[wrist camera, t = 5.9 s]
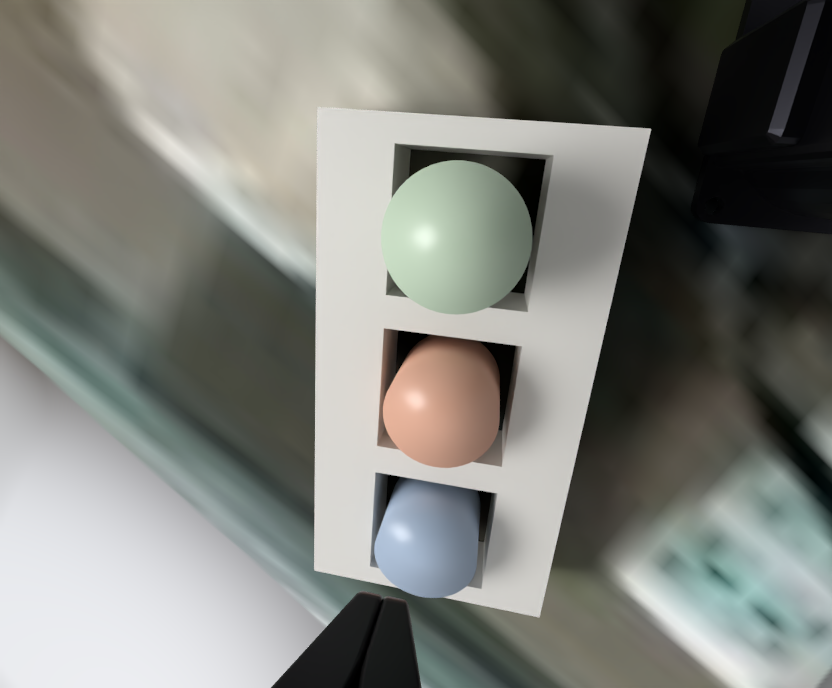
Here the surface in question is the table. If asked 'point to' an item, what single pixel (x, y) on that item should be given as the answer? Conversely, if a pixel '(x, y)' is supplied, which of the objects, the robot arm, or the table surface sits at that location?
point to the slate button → (429, 538)
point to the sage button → (456, 237)
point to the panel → (463, 335)
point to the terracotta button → (444, 402)
